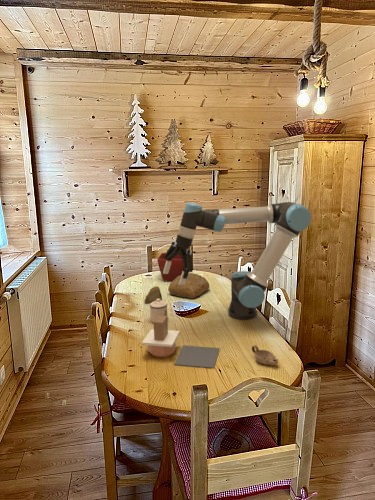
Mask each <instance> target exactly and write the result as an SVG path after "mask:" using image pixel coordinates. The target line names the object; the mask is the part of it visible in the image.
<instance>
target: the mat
mask: <svg viewBox="0 0 375 500" xmlns="http://www.w3.org/2000/svg"><path fill="white" fill-rule="evenodd" d="M219 352H220V347H211V346H199V345H184V344H183V345H182V347H181V349H180V351H179V353H178V354H177V355H178V356H177V358H176V360H175V362H174V366H179V367H189V366H190V367H193V368H200V367H203V368H202V369H211V368H214V369H215V367H214V366H216V362H217V359H218V356H219Z"/></svg>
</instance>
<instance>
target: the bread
mask: <svg viewBox="0 0 375 500" xmlns="http://www.w3.org/2000/svg"><path fill="white" fill-rule="evenodd" d="M180 278H181V276H178V277H176V279H174V280H173V281H170V282H169V283H170V284H169V285H168V288H167V290H168V292H169V294H171V295H173V296H176V297H181V298H188V299H195V298H196V297H198V296H200V295H201V294H203V293H205V292H206V291H208V290H209V289H210V283H209V281H208V280H207V279H206V278H205V277H203V276H202V275H199V274H197V273H193V272H189V273H188V276H187V279H186V281H185V284H184V285H180V284H179V282H180Z"/></svg>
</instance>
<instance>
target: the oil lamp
mask: <svg viewBox="0 0 375 500" xmlns="http://www.w3.org/2000/svg"><path fill="white" fill-rule="evenodd" d="M251 351H252V353H253V354H254V359H255V360H256V362H258V363H259V364H261V365H267V366H277V365H278V363H279V359H278V358H276V355H274V353H272V352H271V351H269V350H266V349H260V348H259V347H258V345H256V344H254V345H252V346H251Z"/></svg>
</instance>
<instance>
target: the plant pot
mask: <svg viewBox="0 0 375 500" xmlns="http://www.w3.org/2000/svg"><path fill="white" fill-rule="evenodd" d="M165 254H166V252H161V254H160V255H159V256H158V258H157V265H158V268H159V272H160V275H161V277H162V280H163V281H164V282H172V281H173V280H174V279H176V277H178V276H181V275H182V271H183V270H184V267H183V262H182V258H181V256H180V255H179V254H177V255H176V256H175V257H174V258H173V259H172V262H171V266H170V269H169V273H168V274H163V271H164V267H165V262H166V258H164V255H165Z"/></svg>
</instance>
